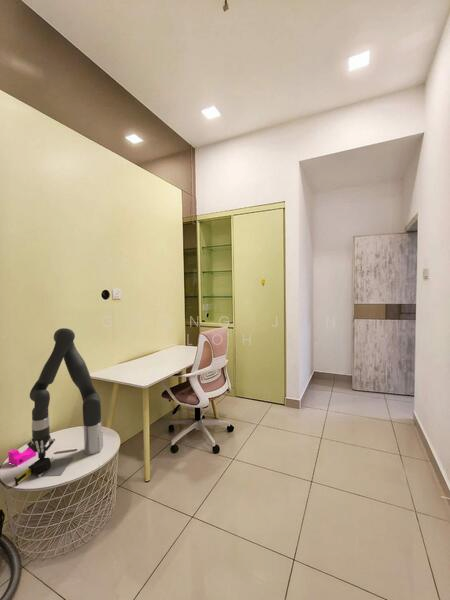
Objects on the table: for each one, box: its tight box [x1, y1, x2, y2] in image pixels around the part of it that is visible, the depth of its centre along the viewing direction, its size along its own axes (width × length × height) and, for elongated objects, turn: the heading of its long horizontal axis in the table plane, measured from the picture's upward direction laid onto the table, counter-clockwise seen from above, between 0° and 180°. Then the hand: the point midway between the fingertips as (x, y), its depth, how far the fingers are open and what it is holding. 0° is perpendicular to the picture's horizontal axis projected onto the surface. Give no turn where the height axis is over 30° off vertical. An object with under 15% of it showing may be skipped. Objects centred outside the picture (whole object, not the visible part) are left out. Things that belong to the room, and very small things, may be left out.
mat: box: [37, 456, 73, 478], centre depth 141 cm, size 10×14×2 cm
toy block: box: [7, 446, 37, 467], centre depth 149 cm, size 15×6×8 cm, turn 163°
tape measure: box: [14, 457, 51, 486], centre depth 133 cm, size 15×4×8 cm
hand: (42, 458), depth 140 cm, fingers closed
